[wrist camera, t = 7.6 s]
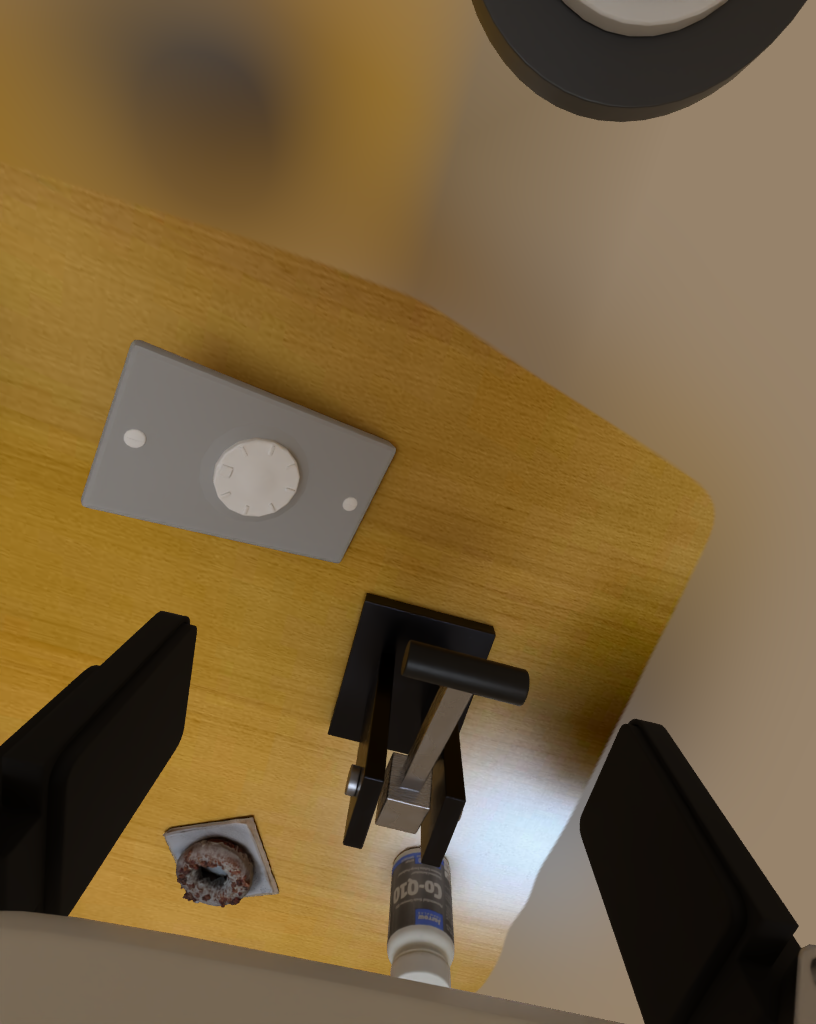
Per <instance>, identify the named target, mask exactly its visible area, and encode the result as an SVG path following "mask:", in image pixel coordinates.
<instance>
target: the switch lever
mask: <svg viewBox="0 0 816 1024" xmlns="http://www.w3.org/2000/svg"><path fill="white" fill-rule="evenodd" d="M401 675H402V676H404V677H408V678H412V679H416V680H420V681H424V682H428V683H432V684H436V685H440V688H439V690H438V692H437V694H436V696H435V698H434V701H433V703H432V705H431V707H430V709H429V711H428V713H427V716H426V718H425V720H424V722H423V724H422V726H421V728H420V730H419V733H418V735H417V737H416V739H415V741H414V743H413V745H412V747H411V750H410V752H409V754H408V756H407V755H403V754H399V753H395V752H394V753H393V754H392V756H391V758H390V761H389V763H388V765H387V768H386V770H385V780H384V784H383V787H382V790H381V793H380V796H379V799H378V806H377V812H376V819H375V824H376V825H379V826H383V827H388V828H392V829H396V830H400V831H404V832H408V833H413V834H416V832H417V831H418V829H419V827H420V826H421V824H422V822H423V820H424V819H425V817H426V815H427V813H428V812H429V810H430V806H431V790H432V773H433V767H434V765H435V763H436V761H437V759H438V758H439V756H440V754H441V752H442V750H443V748H444V746H445V745H446V743H447V741H448V739H449V737H450V735H451V733H452V731H453V730H454V728H455V726H456V724H457V722H458V720H459V718H460V717H461V715H462V713H463V711H464V709H465V707H466V705H467V704H468V702H469V700H470V698H471V696H472V694H475V695H478V696H482V697H486V698H490V699H494V700H498V701H502V702H506V703H510V704H514V705H517V706H521V705H523V704H524V702H525V700H526V698H527V695H528V691H529V674H528V672H527V671H526V670H525V669H521V668H517V667H513V666H510V665H506V664H502V663H498V662H494V661H490V660H487V659H483V658H479V657H475V656H471V655H467V654H464V653H460V652H456V651H452V650H448V649H444V648H441V647H437V646H433V645H429V644H425V643H421V642H418V641H414V640H410V641H409V642H408V644H407V646H406V650H405V653H404V657H403V662H402V667H401Z"/></svg>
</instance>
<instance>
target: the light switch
mask: <svg viewBox="0 0 816 1024" xmlns="http://www.w3.org/2000/svg"><path fill="white" fill-rule="evenodd" d="M288 450H289V451H288ZM395 452H396V448H395V447H394V446H393V445H392V444H391V443H390V442H389V441H387V440H384V439H382V438H379V437H377V436H374V435H372V434H369V433H367V432H365V431H362V430H360V429H357V428H355V427H352V426H350V425H347V424H345V423H342V422H340V421H338V420H335V419H333V418H330V417H328V416H325V415H323V414H320V413H318V412H315V411H313V410H311V409H308V408H306V407H303V406H301V405H298V404H296V403H293V402H291V401H288V400H286V399H284V398H281V397H279V396H276V395H274V394H271V393H269V392H266V391H264V390H261V389H259V388H257V387H254V386H252V385H249V384H247V383H244V382H242V381H239V380H237V379H234V378H232V377H230V376H227V375H225V374H222V373H220V372H217V371H215V370H212V369H210V368H207V367H205V366H203V365H200V364H198V363H195V362H193V361H190V360H188V359H185V358H183V357H180V356H178V355H176V354H173V353H171V352H168V351H166V350H163V349H161V348H158V347H156V346H153V345H151V344H149V343H146V342H144V341H141V340H134V341H133V342H132V343H131V346H130V349H129V352H128V355H127V358H126V361H125V365H124V368H123V371H122V374H121V377H120V380H119V383H118V386H117V389H116V393H115V396H114V399H113V402H112V405H111V408H110V411H109V414H108V417H107V420H106V424H105V427H104V430H103V433H102V436H101V439H100V442H99V445H98V448H97V452H96V455H95V458H94V461H93V464H92V467H91V470H90V473H89V476H88V479H87V483H86V486H85V489H84V492H83V495H82V499H81V502H82V505H83V506H85V507H87V508H92V509H96V510H100V511H105V512H109V513H114V514H118V515H123V516H127V517H132V518H136V519H141V520H145V521H150V522H154V523H159V524H163V525H168V526H172V527H177V528H181V529H186V530H190V531H195V532H199V533H204V534H208V535H212V536H217V537H221V538H226V539H230V540H235V541H239V542H244V543H248V544H253V545H257V546H262V547H266V548H271V549H275V550H280V551H284V552H289V553H293V554H298V555H302V556H307V557H311V558H316V559H320V560H324V561H329V562H333V563H339V562H340V561H341V560H342V558H343V556H344V554H345V552H346V550H347V548H348V546H349V544H350V542H351V540H352V538H353V536H354V534H355V532H356V530H357V528H358V526H359V524H360V522H361V520H362V518H363V516H364V514H365V512H366V510H367V508H368V506H369V504H370V502H371V500H372V498H373V496H374V494H375V492H376V490H377V488H378V486H379V484H380V482H381V480H382V478H383V476H384V474H385V472H386V470H387V468H388V466H389V464H390V462H391V460H392V458H393V456H394V454H395ZM295 460H296V461H295Z"/></svg>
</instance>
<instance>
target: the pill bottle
mask: <svg viewBox="0 0 816 1024" xmlns="http://www.w3.org/2000/svg"><path fill="white" fill-rule="evenodd" d="M387 953H388V958H389V960H390V962H391V964H392V966H391V976H392V977H397V978H402V979H407V980H412V981H417V982H422V983H427V984H432V985H437V986H442V987H447V988H451V981H450V965H451V963H452V961H453V958H454V933H453V914H452V896H451V875H450V867H449V864H448V862H447V860H446V859H445V858H443V860H442V863H441V865H440V867H439V868H438V867H434V866H430V865H425V864H422V863H421V848H414V849H410V850H407V851H404V852H403V853H402V854H400V855H399V856H398V857H397V858H396V860H395V862H394V864H393V868H392V881H391V896H390V912H389V926H388V941H387Z"/></svg>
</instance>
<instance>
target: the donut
mask: <svg viewBox="0 0 816 1024" xmlns="http://www.w3.org/2000/svg"><path fill="white" fill-rule="evenodd" d="M163 836H164V837H165V839H166V842H167V844H168V846H169V849H170V851H171V853H172V855H173V856H174V859H175V861H176V862H175V863H176V864H177V865H176V866H177V867H176V875H177V878H178V879H177V882H179V883H180V884H181V889H182V888H184V889H185V891H186V893H185V895H184V896H183V898H185V899H188V901H190V900H193V902H194V903H199V902H202V903H205V904H208V905H213V906H221V907H225V905H227V904H231V905H234V904H235V905H236V904H237V903H239V902H240V900H241V899H242V898H243V897H252V896H263V895H273V894H277V893H278V894H279V892H278V889H277V884H276V882H275V879H274V878H273V876H272V874H271V868H270V866H269V861H267V857H266V854H265V851H264V849H263V847H262V843H261V842H260V841H261V840H260V838H259V835H258V832H257V829H256V825H255V823H254V820H253V818H252V817H251V818H246V819H235V820H230V821H223V822H212V823H206V824H199V825H193V826H186V827H177V828H172V829H169V830H168V831H167V832H165V833H164V834H163Z"/></svg>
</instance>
